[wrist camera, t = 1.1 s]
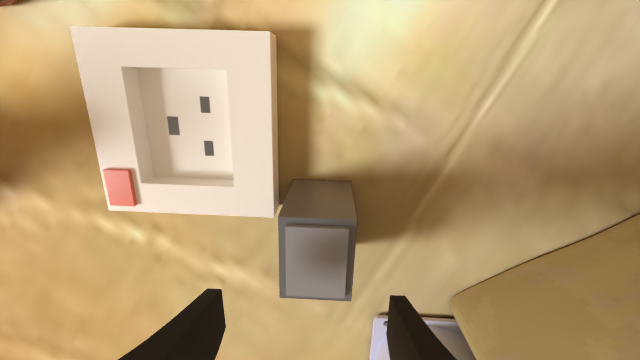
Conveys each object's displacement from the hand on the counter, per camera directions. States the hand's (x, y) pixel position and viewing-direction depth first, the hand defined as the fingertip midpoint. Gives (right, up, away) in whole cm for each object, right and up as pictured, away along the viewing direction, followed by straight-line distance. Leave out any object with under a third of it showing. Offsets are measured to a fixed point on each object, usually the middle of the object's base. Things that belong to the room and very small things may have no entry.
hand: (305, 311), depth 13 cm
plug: (+1, +3, +9) cm, 10 cm away
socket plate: (-8, +9, +7) cm, 14 cm away
